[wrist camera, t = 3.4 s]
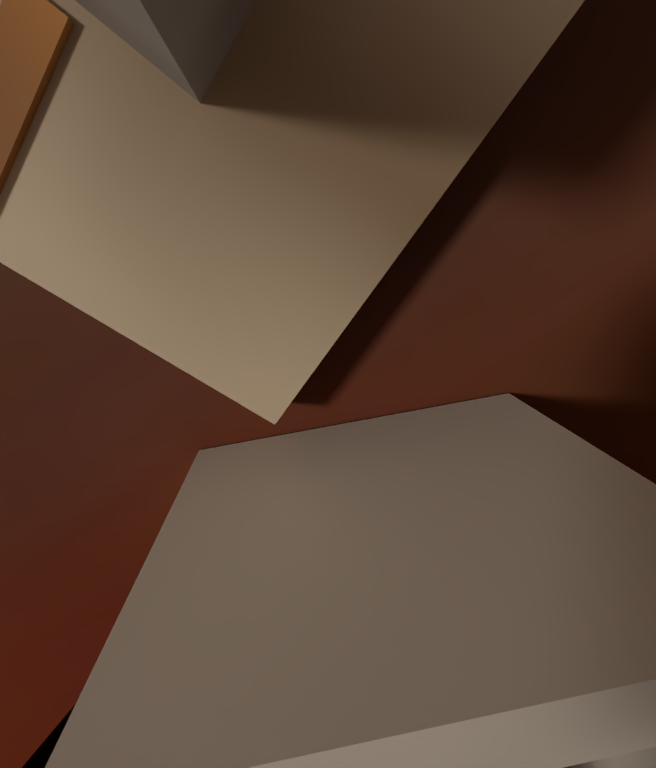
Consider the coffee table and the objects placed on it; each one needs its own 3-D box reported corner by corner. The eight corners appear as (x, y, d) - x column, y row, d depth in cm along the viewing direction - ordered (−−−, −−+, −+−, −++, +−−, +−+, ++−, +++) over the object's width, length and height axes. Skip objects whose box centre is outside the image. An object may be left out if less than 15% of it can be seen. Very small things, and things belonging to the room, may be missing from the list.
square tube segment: (508, 393, 7) (888, 628, 3) (504, 614, 10) (710, 958, 5) (149, 459, 7) (-132, 850, 2) (229, 670, 9) (164, 1091, 5)
